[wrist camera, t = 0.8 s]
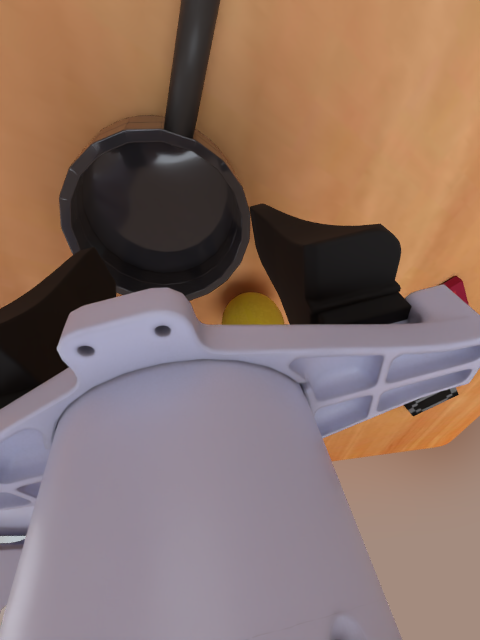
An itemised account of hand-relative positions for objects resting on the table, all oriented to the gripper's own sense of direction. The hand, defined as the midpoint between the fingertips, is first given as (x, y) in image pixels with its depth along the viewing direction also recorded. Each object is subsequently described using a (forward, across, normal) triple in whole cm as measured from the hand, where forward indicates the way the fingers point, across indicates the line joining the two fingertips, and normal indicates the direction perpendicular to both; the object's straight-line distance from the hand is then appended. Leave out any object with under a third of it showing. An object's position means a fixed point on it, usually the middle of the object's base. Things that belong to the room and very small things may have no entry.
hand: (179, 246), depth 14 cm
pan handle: (+7, -3, -6) cm, 10 cm away
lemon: (+10, -3, +12) cm, 16 cm away
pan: (+10, +2, +2) cm, 10 cm away
